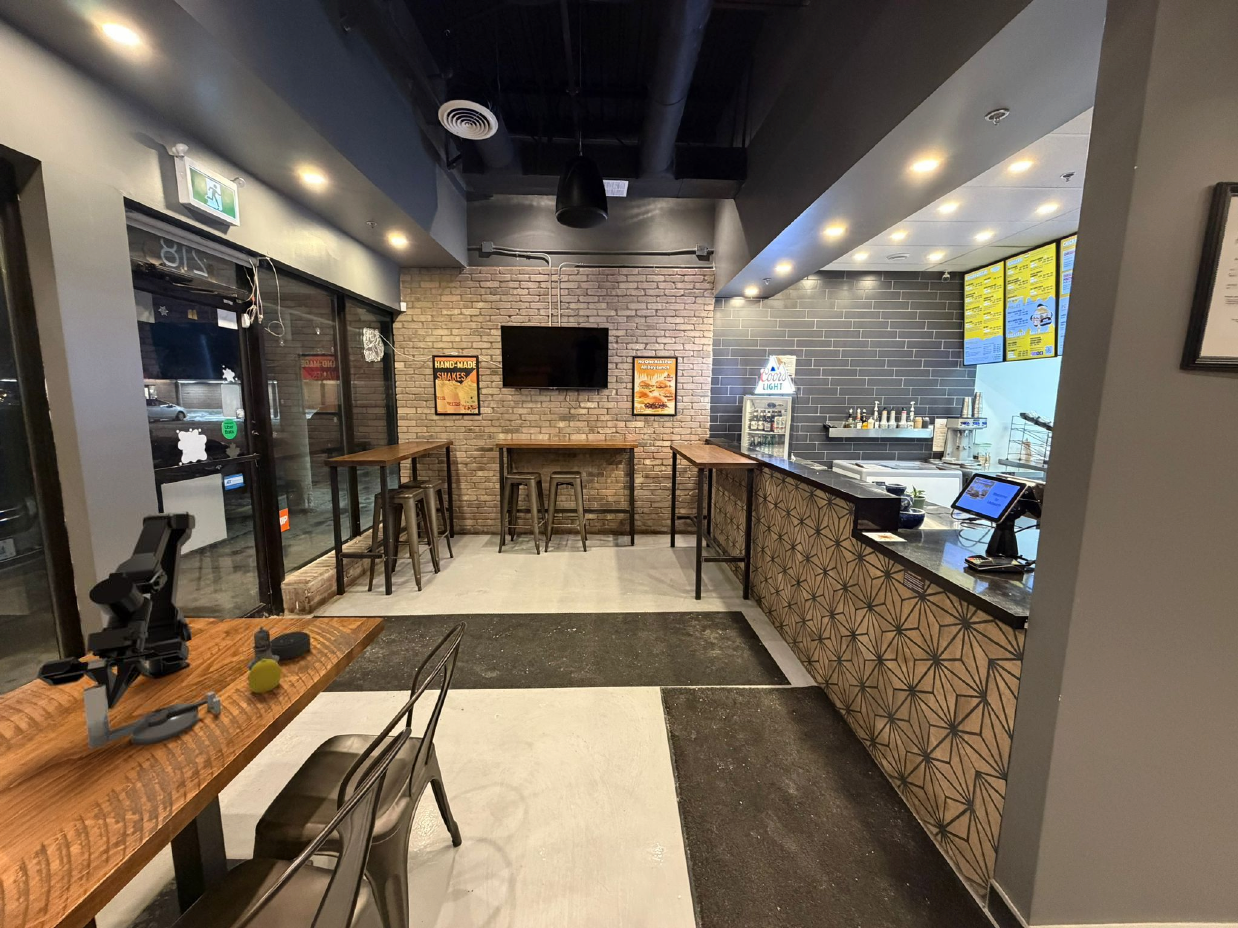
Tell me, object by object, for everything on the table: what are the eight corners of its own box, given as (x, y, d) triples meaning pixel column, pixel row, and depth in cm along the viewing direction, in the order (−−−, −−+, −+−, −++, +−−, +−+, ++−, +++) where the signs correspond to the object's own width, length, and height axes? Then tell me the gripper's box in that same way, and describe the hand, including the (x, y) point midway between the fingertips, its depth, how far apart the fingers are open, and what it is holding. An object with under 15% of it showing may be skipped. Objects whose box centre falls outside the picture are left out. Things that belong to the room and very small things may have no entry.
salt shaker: (262, 684, 102) (259, 633, 101) (241, 681, 103) (237, 630, 102) (286, 670, 108) (283, 622, 107) (266, 667, 109) (263, 619, 108)
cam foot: (86, 760, 77) (79, 693, 76) (127, 721, 87) (122, 662, 86) (183, 742, 81) (177, 679, 80) (212, 707, 91) (207, 650, 90)
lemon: (261, 687, 101) (259, 652, 100) (287, 686, 101) (285, 652, 101) (243, 702, 96) (240, 666, 95) (271, 701, 96) (268, 665, 95)
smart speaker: (261, 656, 115) (260, 640, 114) (300, 641, 122) (300, 627, 122) (277, 666, 110) (276, 650, 110) (317, 650, 117) (316, 635, 117)
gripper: (36, 619, 80) (4, 714, 72) (179, 599, 90) (166, 680, 81) (64, 642, 88) (39, 730, 79) (194, 621, 97) (183, 697, 89)
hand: (108, 708), depth 82 cm, fingers closed
